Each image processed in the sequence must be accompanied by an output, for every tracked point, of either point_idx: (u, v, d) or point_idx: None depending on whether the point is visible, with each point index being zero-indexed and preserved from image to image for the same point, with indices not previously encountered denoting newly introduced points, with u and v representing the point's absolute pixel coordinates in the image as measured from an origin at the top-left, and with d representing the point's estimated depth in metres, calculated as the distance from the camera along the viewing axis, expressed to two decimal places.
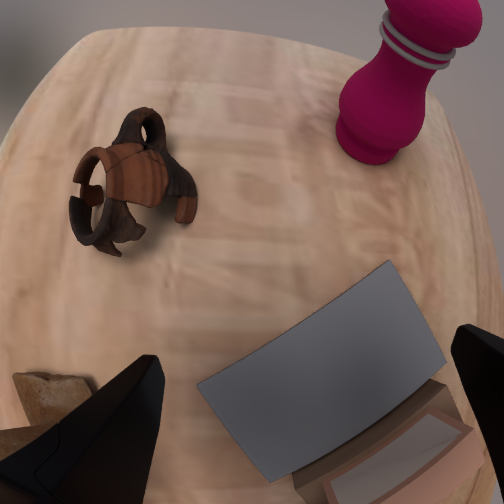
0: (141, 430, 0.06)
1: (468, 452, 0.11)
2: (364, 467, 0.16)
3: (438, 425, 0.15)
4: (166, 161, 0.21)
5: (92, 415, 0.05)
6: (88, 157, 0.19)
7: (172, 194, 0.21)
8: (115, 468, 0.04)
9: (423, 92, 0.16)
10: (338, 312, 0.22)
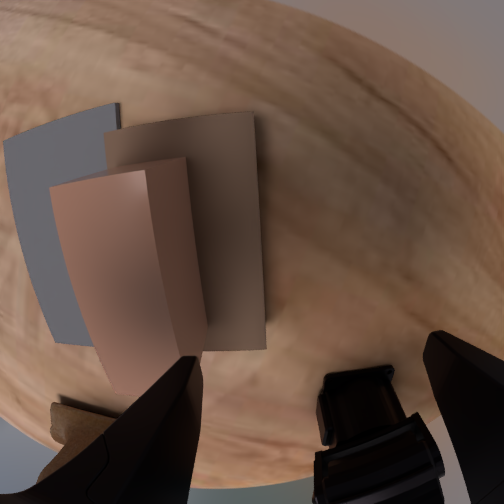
0: (187, 434, 0.06)
1: (84, 207, 0.09)
2: None
3: None
4: None
5: (141, 423, 0.05)
6: None
7: None
8: (165, 477, 0.04)
9: None
10: (20, 211, 0.18)
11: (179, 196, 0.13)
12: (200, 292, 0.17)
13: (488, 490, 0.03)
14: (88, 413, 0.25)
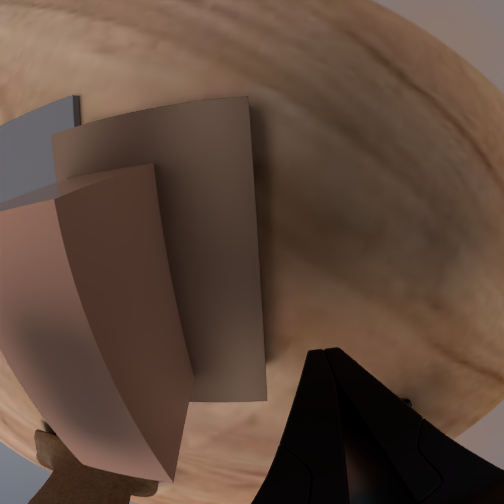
0: None
1: None
2: None
3: None
4: None
5: (318, 422, 0.05)
6: None
7: None
8: None
9: None
10: None
11: (139, 223, 0.09)
12: (181, 341, 0.12)
13: None
14: None
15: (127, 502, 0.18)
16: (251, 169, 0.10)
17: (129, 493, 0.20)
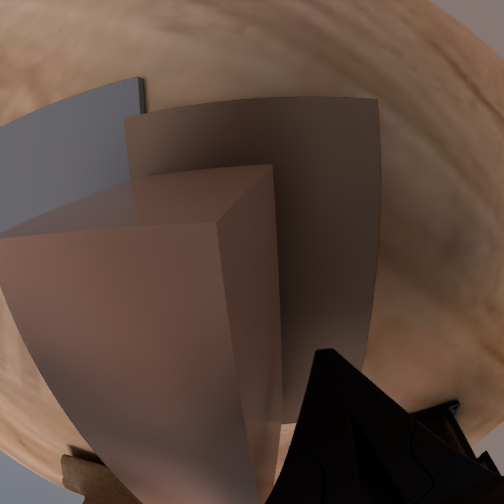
0: None
1: (54, 301, 0.03)
2: None
3: None
4: None
5: (329, 421, 0.05)
6: None
7: None
8: None
9: None
10: None
11: (269, 244, 0.07)
12: (281, 375, 0.10)
13: None
14: (107, 469, 0.19)
15: None
16: (379, 177, 0.09)
17: None
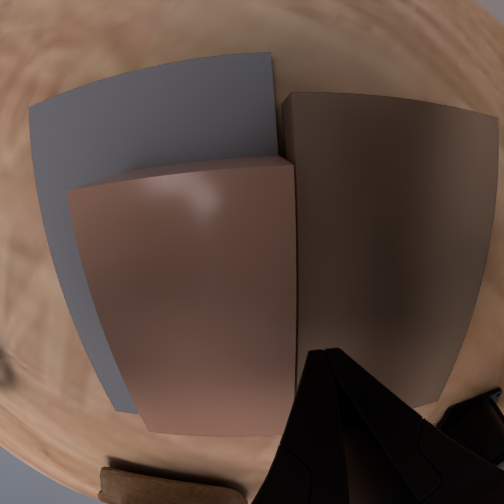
0: None
1: None
2: None
3: None
4: None
5: (318, 423, 0.05)
6: None
7: None
8: None
9: None
10: (59, 227, 0.11)
11: (210, 237, 0.07)
12: (280, 394, 0.09)
13: None
14: (155, 480, 0.18)
15: None
16: (495, 184, 0.08)
17: None
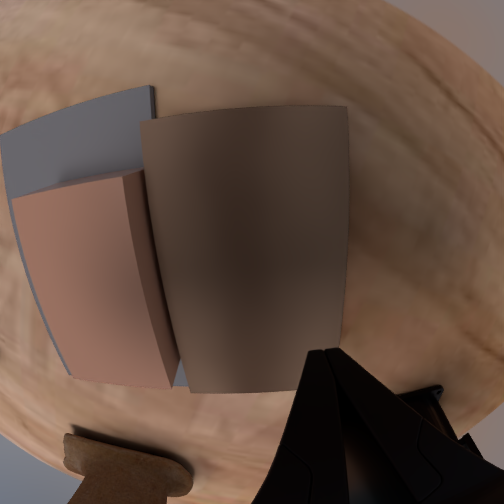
0: None
1: None
2: None
3: None
4: None
5: (318, 422, 0.05)
6: None
7: None
8: None
9: None
10: None
11: (82, 226, 0.10)
12: (148, 348, 0.12)
13: None
14: (107, 446, 0.21)
15: (165, 503, 0.19)
16: (347, 171, 0.11)
17: (166, 494, 0.20)
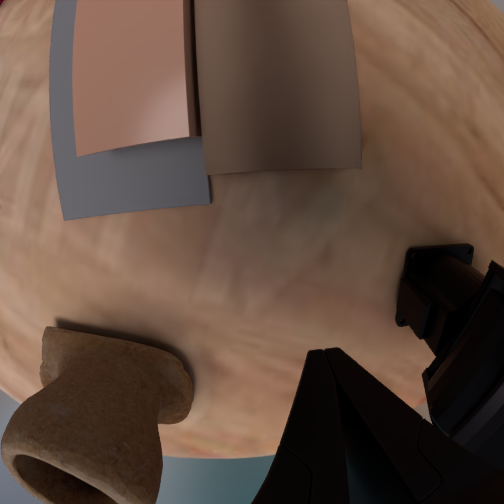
0: None
1: None
2: None
3: None
4: None
5: (318, 422, 0.05)
6: None
7: None
8: None
9: None
10: (60, 52, 0.13)
11: None
12: (175, 82, 0.11)
13: None
14: (93, 335, 0.20)
15: (156, 412, 0.19)
16: None
17: (159, 402, 0.20)
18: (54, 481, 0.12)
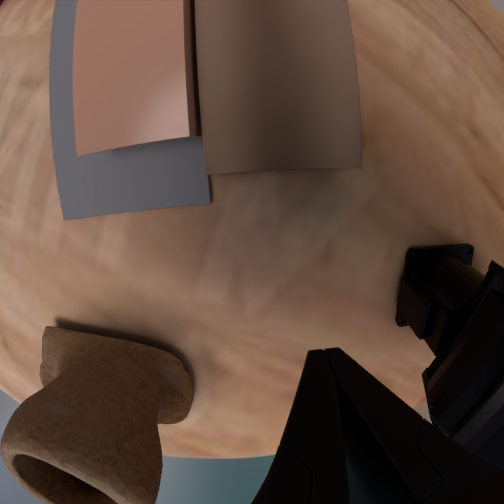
0: None
1: None
2: None
3: None
4: None
5: (318, 422, 0.05)
6: None
7: None
8: None
9: None
10: (60, 52, 0.13)
11: None
12: (175, 81, 0.11)
13: None
14: (93, 335, 0.20)
15: (156, 412, 0.19)
16: None
17: (159, 402, 0.20)
18: (54, 481, 0.12)
